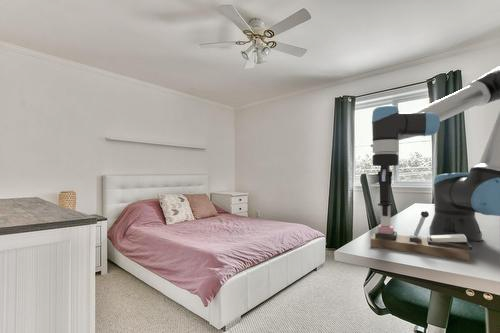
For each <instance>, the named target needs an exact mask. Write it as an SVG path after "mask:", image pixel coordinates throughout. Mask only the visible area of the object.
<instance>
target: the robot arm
mask: <svg viewBox="0 0 500 333" xmlns="http://www.w3.org/2000/svg"><path fill="white" fill-rule="evenodd" d="M499 100H500V65H499V66H497V67H495V68H493V69H492V70H490V71H489V72H487V73H485V74H484V75H481V77H479V78H476V79H475V80H472V81H471V82H469V83H468V84H466V86H465V87H464V88H462V89H460V90H458V91H455V92H454V93H452V94H449V95H446V96H445V97H443V98H441V99H438V100H435V101H434V102H432V103H430V104H428V105H426V106H425V105H424V106H423V107H421V108H419V109H417V110H415V111H413V112H412V111H411V112H400V111H399V107H398V106H397V105H393V104H391V105H389V104H388V105H381V106H378V107H376V108H374V109H373V111H372V116H371V124H372V125H371V126H372V128H371V129H372V132H371V133H372V144H370V147H371V148H372V153H373V154H372V158H371V159H372V166H373V167H374V166H375V167H376V166H377V167H379V168H380V170H379V171H377V177H378V185H379V203H377V206H380V225H381V226H391V206H393V205H394V204H393V203H391V202H392V200H391V186H392V183H393V182H392V177H393V171H391V170H390V169H391V168H390V167H393V166H394V167H395V166H398V165H399V154H397V153H399V141H401V140H406V139H412V138H413V137H414V138H415V137H428V136H434V135H436V134H437V133H438V132H439V129H440V125H441V122H443V121H445V120H447V119H449V118H451V117H453V116H457V115H458V114H461V113H463V112H464V111H468V110H469V109H471V108H474V107H476V106H477V107H483V106H485V105H486V104H489V103H492V102H494V101H499ZM490 132H491V133H490V134H489V137H488V140H487V142H486V144H485V148H484V150H483V153H482V155H481V158H480V160H479V163H478V164H475V165H474V166H472V167H470V168H469V172H453V173H452V172H451V173H442V174H437V175H436V176H435V177H434V179H433V180H434V181H433V189H434V190H433V191H434V192H433V193H434V197H433V198H434V215H433V217H432V221H431V223H430V226H429V227H428V228H429V231H428V232H429V234H430V236H431V235H451V234H464V235H465V236H466V238H467V242H480V241H483V232H482V231H481V229H480V226H479V224H478V221H477V219H476V213H478V214H480V215H484V216H496V217H500V111H499V113H498V115H497V117H496V120H495V123H494V124H493V126H492V130H491V131H490Z"/></svg>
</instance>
